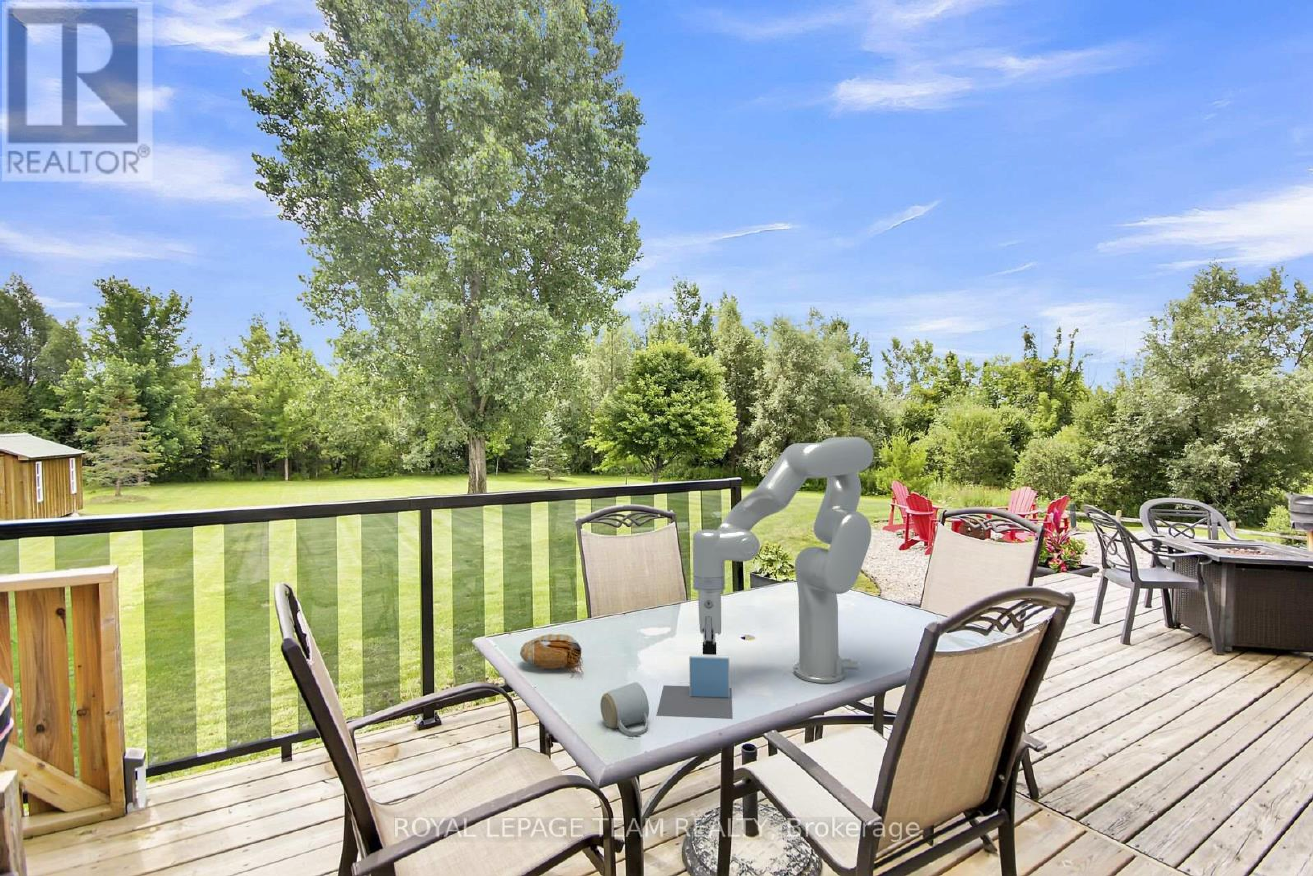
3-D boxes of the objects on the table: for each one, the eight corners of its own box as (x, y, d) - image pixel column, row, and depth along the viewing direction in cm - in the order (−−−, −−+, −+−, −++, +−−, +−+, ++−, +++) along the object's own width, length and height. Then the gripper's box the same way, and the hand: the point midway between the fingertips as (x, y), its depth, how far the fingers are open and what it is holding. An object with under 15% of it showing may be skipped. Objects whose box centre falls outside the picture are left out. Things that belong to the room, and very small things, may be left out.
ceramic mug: (598, 722, 124) (598, 685, 124) (632, 712, 128) (632, 677, 128) (622, 744, 115) (622, 704, 115) (658, 733, 119) (658, 695, 119)
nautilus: (603, 676, 150) (549, 695, 141) (564, 648, 167) (513, 663, 158) (602, 646, 149) (548, 662, 141) (563, 621, 167) (512, 634, 158)
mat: (731, 690, 140) (731, 687, 140) (732, 721, 124) (732, 718, 124) (663, 687, 141) (663, 685, 141) (656, 718, 125) (656, 715, 125)
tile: (729, 694, 136) (729, 655, 136) (729, 698, 134) (729, 658, 134) (690, 693, 137) (689, 654, 137) (689, 696, 135) (689, 657, 135)
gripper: (724, 590, 134) (725, 672, 133) (724, 576, 148) (725, 650, 148) (691, 589, 134) (691, 671, 134) (694, 575, 149) (695, 649, 149)
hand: (709, 659), depth 141 cm, fingers closed
